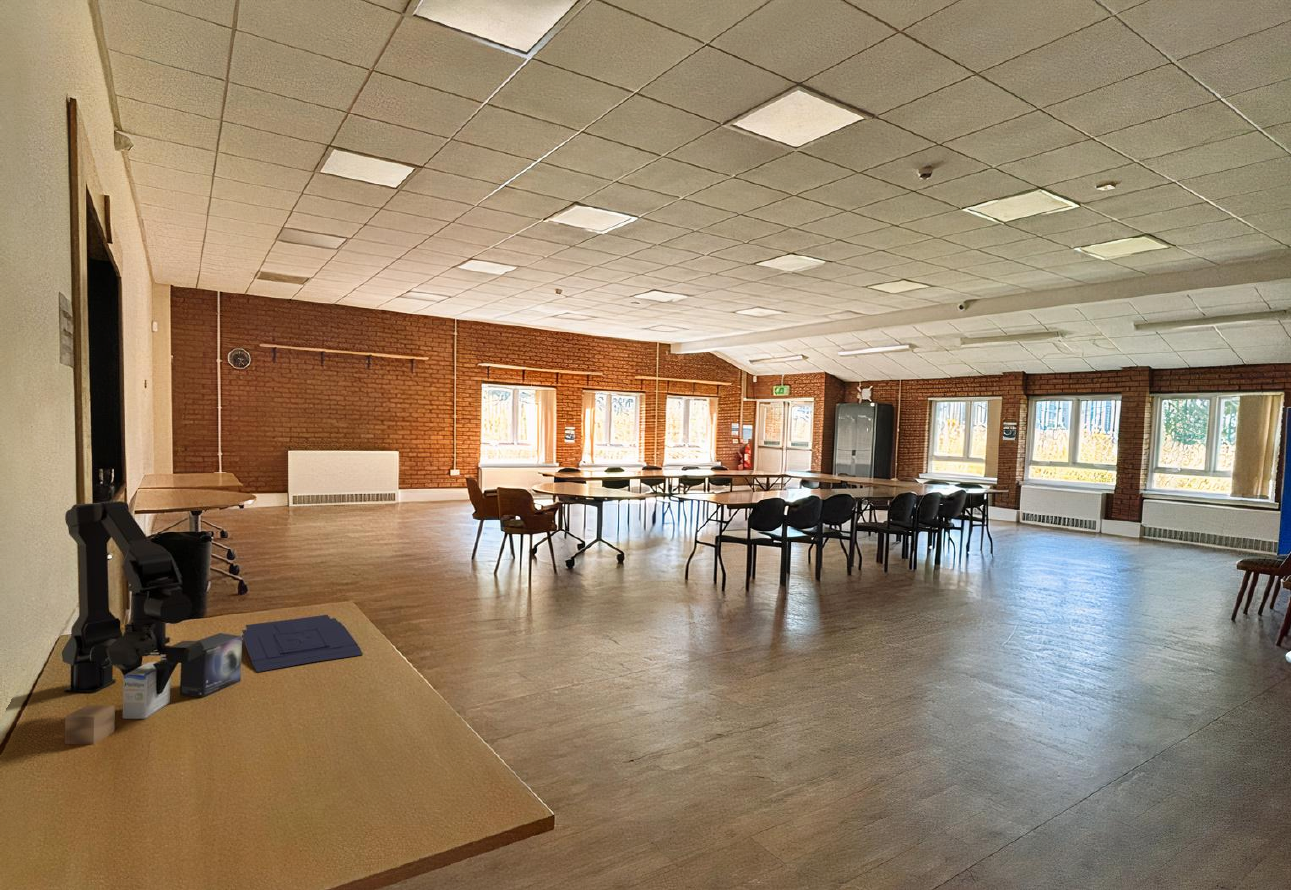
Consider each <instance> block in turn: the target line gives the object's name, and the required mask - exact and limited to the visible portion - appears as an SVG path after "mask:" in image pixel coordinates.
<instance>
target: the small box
mask: <svg viewBox="0 0 1291 890" xmlns="http://www.w3.org/2000/svg"><path fill="white" fill-rule="evenodd" d="M197 641H200V642H201V643H202V644H203V646H204V649H203V654H202V655H200V656H198V657H196V658H195V659H193V660H191V661H189V662H185V663H180V678H179V679H180V680H179V682H180V683H179V692H178V693H179V695H184V696H185V695H186V696H190V697H191V696H193V697H197V698H198V697H199V698H204V697H207V696H209V695H211V694H214V693H216V692H219V691H221V690H223V689H225V688H227V687H230V686H233V685H234V684H237V683H240V682H241V678H242V651H243V650H242V649H243V647H242V646H243V638H242V635H237V634H229V633H223V632H219V633H215V634H213V635H210V636H208V637H204V638H201V639H198V640H197Z"/></svg>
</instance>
